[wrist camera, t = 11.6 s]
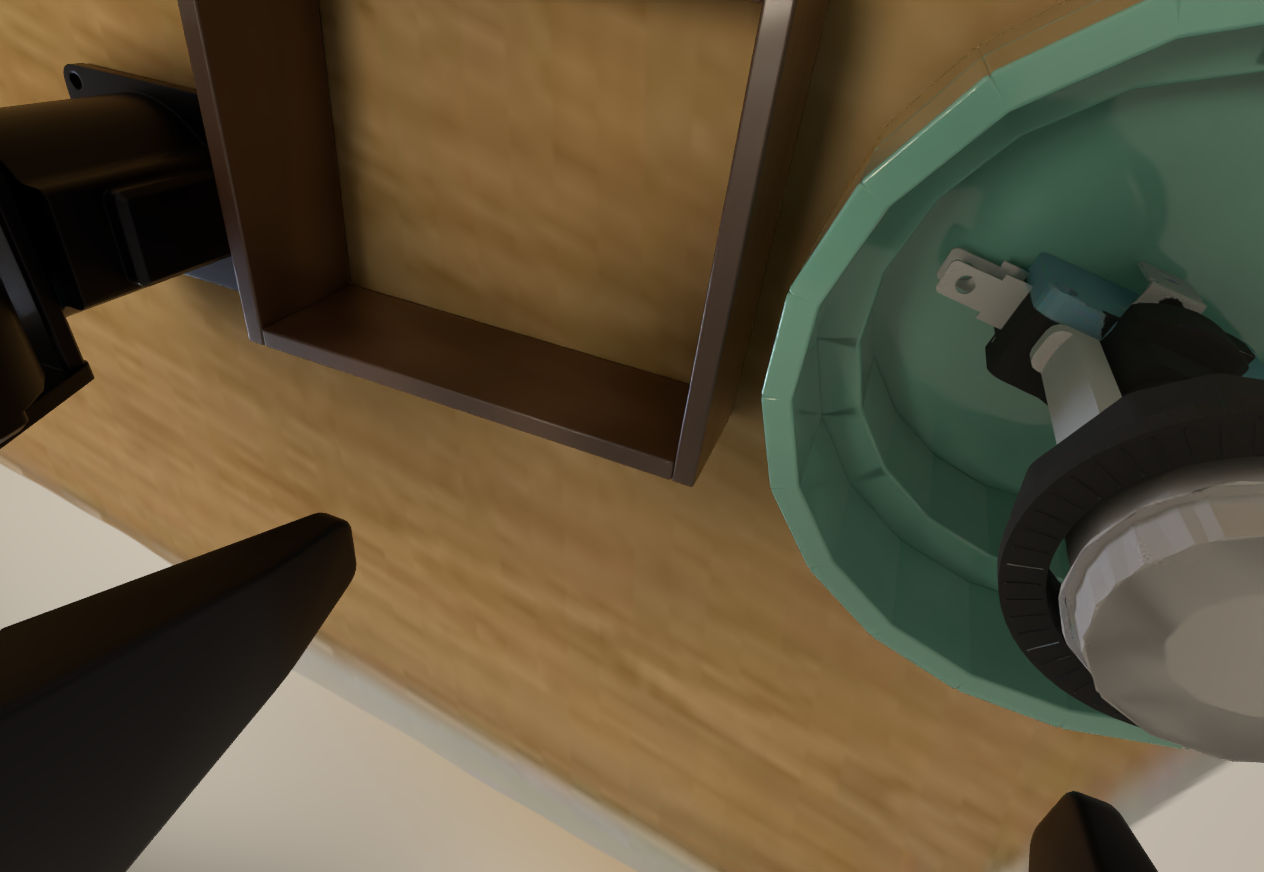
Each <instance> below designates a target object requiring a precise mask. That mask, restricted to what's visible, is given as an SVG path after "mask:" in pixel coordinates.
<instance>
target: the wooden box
mask: <svg viewBox="0 0 1264 872" xmlns="http://www.w3.org/2000/svg"><path fill="white" fill-rule="evenodd" d="M177 1H178V6H179V10H180V15H181V20H182V24H183V29H184V34H185V39H186V43H187V48H188V53H189V58H190V62H191V67H192V72H193V76H194V81H195V86H196V91H197V95H198V100H199V105H200V110H201V114H202V119H203V124H204V128H205V133H206V138H207V143H208V147H209V152H210V157H211V161H212V166H213V171H214V176H215V180H216V185H217V190H218V195H219V199H220V204H221V209H222V213H223V218H224V223H225V228H226V232H227V237H228V242H229V247H230V251H231V256H232V261H233V265H234V270H235V275H236V280H237V284H238V289H239V294H240V299H241V303H242V308H243V313H244V317H245V322H246V327H247V332H248V336H249V340H250V341H252V342H255V343H258V344H261V345H266V346H267V347H270V348H273V349H276V350H279V351H282V352H285V353H288V354H291V355H294V356H297V357H300V358H303V359H306V360H309V361H312V362H315V363H318V364H321V365H324V366H328V367H331V368H334V369H337V370H340V371H343V372H346V373H349V374H352V375H355V376H358V377H361V378H364V379H367V380H370V381H373V382H376V383H379V384H382V385H385V386H388V387H391V388H394V389H397V390H400V391H403V392H406V393H409V394H412V395H415V396H418V397H421V398H424V399H427V400H430V401H433V402H436V403H439V404H442V405H445V406H448V407H451V408H454V409H457V410H460V411H463V412H466V413H469V414H472V415H475V416H478V417H481V418H484V419H487V420H490V421H494V422H497V423H500V424H503V425H506V426H509V427H512V428H515V429H518V430H521V431H524V432H527V433H530V434H533V435H536V436H539V437H542V438H545V439H548V440H551V441H554V442H557V443H560V444H563V445H566V446H569V447H572V448H575V449H578V450H581V451H584V452H587V453H590V454H593V455H596V456H599V457H602V458H605V459H608V460H611V461H614V462H617V463H620V464H623V465H626V466H629V467H632V468H635V469H638V470H641V471H644V472H647V473H650V474H653V475H656V476H660V477H663V478H666V479H671V478H672V480H673V481H675V482H678V483H681V484H684V485H687V486H690V487H692V486H694V484H695V482H696V480H697V478H698V476H699V475H700V473H701V471H702V469H703V467H704V465H705V463H706V461H707V459H708V457H709V456H710V454H711V452H712V450H713V448H714V446H715V444H716V442H717V440H718V438H719V437H720V435H721V433H722V431H723V429H724V427H725V425H726V423H727V421H728V419H729V418H730V416H731V414H732V410H733V405H734V401H735V397H736V393H737V389H738V384H739V380H740V376H741V372H742V367H743V363H744V359H745V355H746V350H747V346H748V342H749V338H750V333H751V329H752V325H753V321H754V316H755V312H756V308H757V304H758V299H759V295H760V291H761V287H762V283H763V278H764V274H765V270H766V266H767V261H768V257H769V253H770V249H771V244H772V240H773V236H774V232H775V227H776V223H777V219H778V215H779V210H780V206H781V202H782V198H783V193H784V189H785V185H786V181H787V177H788V172H789V168H790V164H791V160H792V155H793V151H794V147H795V143H796V138H797V134H798V130H799V126H800V121H801V117H802V113H803V109H804V104H805V100H806V96H807V92H808V87H809V83H810V79H811V75H812V71H813V66H814V62H815V58H816V54H817V49H818V45H819V41H820V37H821V32H822V28H823V24H824V20H825V15H826V11H827V7H828V3H829V0H744V1H751V2H757V3H761V2H763V3H762V8H761V13H760V18H759V24H758V29H757V34H756V39H755V45H754V50H753V55H752V60H751V66H750V71H749V76H748V81H747V87H746V92H745V97H744V102H743V108H742V113H741V118H740V123H739V129H738V134H737V139H736V144H735V150H734V155H733V160H732V165H731V171H730V176H729V181H728V186H727V192H726V197H725V202H724V207H723V213H722V218H721V223H720V228H719V234H718V239H717V244H716V249H715V255H714V260H713V265H712V270H711V276H710V281H709V286H708V291H707V297H706V302H705V307H704V312H703V318H702V323H701V328H700V333H699V339H698V344H697V349H696V354H695V360H694V365H693V370H692V375H691V381H690V385H688V384H684V383H681V382H678V381H674V380H671V379H668V378H664V377H661V376H657V375H654V374H651V373H647V372H644V371H641V370H637V369H634V368H630V367H627V366H624V365H620V364H617V363H613V362H610V361H607V360H603V359H600V358H597V357H593V356H590V355H586V354H583V353H580V352H576V351H573V350H570V349H566V348H563V347H559V346H556V345H553V344H549V343H546V342H543V341H539V340H536V339H532V338H529V337H526V336H522V335H519V334H515V333H512V332H509V331H505V330H502V329H499V328H495V327H492V326H488V325H485V324H482V323H478V322H475V321H472V320H468V319H465V318H461V317H458V316H455V315H451V314H448V313H444V312H441V311H438V310H434V309H431V308H428V307H424V306H421V305H417V304H414V303H411V302H407V301H404V300H401V299H397V298H394V297H390V296H387V295H384V294H380V293H377V292H373V291H370V290H367V289H363V288H360V287H357V286H353V285H351V283H350V274H349V266H348V257H347V248H346V240H345V231H344V222H343V214H342V205H341V196H340V187H339V179H338V170H337V161H336V153H335V144H334V135H333V127H332V118H331V109H330V101H329V92H328V83H327V75H326V66H325V57H324V48H323V40H322V31H321V22H320V14H319V5H318V0H177Z"/></svg>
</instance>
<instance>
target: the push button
mask: <svg viewBox="0 0 1264 872" xmlns="http://www.w3.org/2000/svg"><path fill="white" fill-rule="evenodd" d="M965 262H967V263H971V264H972V265H973V266H971V265H969V264H967V263H965ZM1137 265H1138V267H1139V268H1140V270H1141V272H1142V273H1143V275H1144V276H1145V278H1146V279H1147V280H1148V281H1150V283H1149V285H1148V287H1147V288H1146V289H1145V291H1144V292H1143V293H1142V294H1141V295H1139V294H1137V293H1134V292H1132V291H1130V290H1128V289H1126V288H1123V287H1121V286H1119V285H1117V284H1114V283H1112V282H1110V281H1108V280H1106V279H1103V278H1101V277H1099V276H1097V275H1095V274H1092V273H1090V272H1088V271H1086V270H1083V269H1081V268H1079V267H1077V266H1075V265H1072V264H1070V263H1068V262H1066V261H1063V260H1061V259H1059V258H1057V257H1055V256H1052V255H1050V254H1047V253H1043V252H1041V253H1040V254H1039V255H1038V257H1037V258H1036V260H1035V261H1034V262H1033V264H1032V265H1031V266H1030V268H1029V269H1028V271H1027V270H1025V269H1022V268H1020V267H1018V266H1016V265H1014V264H1011V263H1009V262H1007V261H1005V260H1004V261H1003V263H1002V264H1001V266H998V265H996V264H994V263H992V262H990V261H987V260H985V259H983V258H981V257H979V256H977V255H974V254H972V253H970V252H968V251H966V250H963V249H961V248H959V247H956V248H953V249H952V250H951V251H950V253H949V254H948V256H947V258H946V259H945V261H944V262H943V264H942V265H941V267H940V268H939V270H938V272H937V277H938V279H940V280H939V282H938V283H937V285H936V290H937V292H938V293H940V294H942V295H944V296H946V297H949V298H951V299H953V300H955V301H957V302H959V303H961V304H964V305H966V306H968V307H970V308H972V309H974V310H976V311H979V313H978V314H977V316H976V318H977V319H979V320H981V321H983V322H986V323H988V324H990V325H992V326H994V331H995V334H994V335H993V337H992V338H991V340H990V341H989V342H988V344H987V345H986V346H985V353H986V366H987V370H988V371H989V372H990V373H991V374H992V375H993V376H995V377H996V378H998V379H999V380H1001V381H1003V382H1005V383H1007V384H1010V385H1012V386H1014V387H1016V388H1018V389H1020V390H1022V391H1024V392H1026V393H1028V394H1031V395H1033V396H1035V397H1037V398H1039V399H1040V400H1041V401H1043V402H1044V403H1045V404H1046V405H1047V406H1048V407H1049V412H1050V416H1051V421H1052V425H1053V430H1054V434H1055V439H1056V443H1057V445H1056V446H1054V447H1053V448H1051V449H1050V450H1049V451H1047V452H1046V453H1045V454H1043V455H1042V456H1040V457H1039V458H1038V459H1036V460H1035V461H1034V462H1033V463H1032V464H1031V465H1030V466H1029V468H1028V469H1027V472H1026V475H1025V477H1024V480H1023V482H1022V485H1021V488H1020V490H1019V493H1018V495H1017V498H1016V500H1015V503H1014V506H1013V508H1012V511H1011V514H1010V519H1009V521H1008V524H1007V526H1006V528H1005V530H1004V533H1003V536H1002V540H1001V543H1000V547H999V553H998V560H997V579H998V593H999V599H1000V606H1001V610H1002V613H1003V616H1004V619H1005V622H1006V625H1007V627H1008V629H1009V631H1010V633H1011V635H1012V637H1013V639H1014V640H1015V642H1016V643H1017V645H1018V646H1019V648H1020V650H1021V651H1022V652H1023V653H1024V655H1025V656H1026V657H1027V658H1028V659H1029V661H1030V662H1031V663H1032V664H1033V665H1034V666H1035V667H1036V668H1037V669H1038V670H1039V671H1040V672H1041V673H1042V674H1043V675H1044V676H1045V677H1046V678H1048V679H1049V680H1050V681H1051V682H1053V683H1054V684H1055V685H1056V686H1058V687H1059V688H1060V689H1062V690H1063V691H1065V692H1066V693H1068V694H1069V695H1071V696H1072V697H1074V698H1075V699H1077V700H1079V701H1080V702H1082V703H1084V704H1086V705H1088V706H1089V707H1091V708H1093V709H1095V710H1097V711H1099V712H1102V713H1104V714H1106V715H1108V716H1110V717H1113V718H1115V719H1118V720H1120V721H1123V722H1126V723H1128V724H1131V725H1134V726H1137V727H1140V728H1141V729H1143V730H1144V731H1145V732H1147V733H1148V734H1149V735H1152V736H1155V737H1158V738H1161V739H1163V740H1166V741H1169V742H1172V743H1175V744H1178V745H1181V746H1184V747H1186V748H1189V749H1192V750H1195V751H1198V752H1201V753H1204V754H1207V755H1209V756H1212V757H1215V758H1218V759H1226V760H1230V761H1237V762H1262V763H1264V365H1263V364H1262V363H1261V361H1260V360H1259V359H1258V358H1257V356H1256V354H1257V353H1256V352H1255V351H1254V350H1253V349H1252V347H1250V346H1249V345H1248V344H1247V343H1246V342H1244V341H1242V340H1241V339H1239V338H1237V337H1235V336H1233V335H1232V334H1229V333H1227V332H1225V331H1223V329H1222V328H1221V327H1219V326H1218V325H1217V324H1216V323H1214V322H1213V321H1212V320H1211V319H1209V318H1207V317H1205V316H1203V315H1202V314H1201V313H1202V312H1203V311H1204V310H1205V309H1206V307H1207V305H1206V304H1205V303H1203V302H1201V301H1202V299H1201V297H1200V296H1199V295H1198V293H1197V292H1196V291H1195V290H1194V288H1193V287H1192V286H1191V285H1190V284H1189V283H1188V282H1186V281H1185V280H1183V279H1181V278H1180V277H1177V276H1175V275H1173V274H1171V273H1168V272H1166V271H1164V270H1162V269H1159V268H1157V267H1155V266H1153V265H1150V264H1148V263H1146V262H1140V261H1139V263H1138V264H1137ZM966 275H967V276H971V277H970V278H968V279H960V277H962V276H966ZM1164 278H1165V279H1164ZM1166 279H1167V280H1166ZM1168 280H1169V281H1168ZM1170 281H1171V282H1170ZM956 287H957V288H959V289H961V290H963V291H965V292H967V293H962V292H959V291H958V290H956ZM1064 537H1065V543H1066V548H1067V554H1068V559H1069V565H1070V571H1069V572H1068V574H1067V576H1066V577H1065V579H1064V581H1063V583H1062V584H1061V583H1060V582H1059V581H1058V579H1057V578H1056V577H1055V575H1054V574H1053V573H1052V571H1051V570H1050V568H1049V567H1050V564H1051V561H1052V558H1053V556H1054V554H1055V552H1056V550H1057V548H1058V546H1059V545H1060V543H1061V541H1062V540H1063V539H1064Z"/></svg>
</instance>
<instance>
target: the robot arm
mask: <svg viewBox="0 0 1264 872" xmlns="http://www.w3.org/2000/svg"><path fill="white" fill-rule="evenodd" d="M63 73H64V78H65V81H66V85H67V88H68V91H69V95H70V98H71V99H66V100H58V101H50V102H42V103H34V104H26V105H18V106H10V107H2V108H0V449H1V448H2V447H4V446H5V445H6V444H8V443H9V442H10V441H12V440H13V439H14V438H16V437H17V436H18V435H20V434H21V433H22V432H24V431H25V430H26V429H28V428H29V427H30V426H32V425H33V424H34V423H36V422H37V421H38V420H40V419H41V418H42V417H44V416H45V415H46V414H48V413H49V412H50V411H52V410H53V409H54V408H56V407H57V406H58V405H60V404H61V403H62V402H64V401H65V400H66V399H68V398H69V397H70V396H72V395H73V394H74V393H76V392H77V391H78V390H80V389H81V388H83V387H84V386H85V385H87V384H88V383H89V382H91V381H92V380H93V379H94V375H93V373H92V370H91V368H90V366H89V363H88V362H87V361H85V360H83V358H82V355H81V353H80V350H79V348H78V346H77V343H76V341H75V338H74V336H73V334H72V331H71V329H70V326H69V324H68V322H67V319H66V317H67V316H70V315H73V314H76V313H78V312H81V311H84V310H86V309H89V308H92V307H94V306H97V305H100V304H103V303H105V302H108V301H111V300H113V299H116V298H119V297H121V296H124V295H127V294H130V293H132V292H135V291H138V290H140V289H143V288H146V287H148V286H152V285H155V284H157V283H160V282H163V281H165V280H168V279H171V278H174V277H176V276H179V275H182V274H185V275H189V276H192V277H195V278H198V279H201V280H205V281H208V282H211V283H214V284H217V285H221V286H224V287H227V288H230V289H233V290H237V291H239V289H238V284H237V280H236V275H235V270H234V265H233V261H232V256H231V251H230V247H229V242H228V237H227V232H226V228H225V223H224V218H223V213H222V209H221V204H220V199H219V195H218V190H217V185H216V180H215V176H214V171H213V166H212V161H211V157H210V152H209V147H208V143H207V138H206V133H205V128H204V124H203V119H202V114H201V110H200V105H199V100H198V95H197V91H196V89H192V88H188V87H184V86H179V85H175V84H171V83H166V82H162V81H158V80H153V79H149V78H145V77H141V76H136V75H132V74H128V73H123V72H119V71H115V70H110V69H106V68H102V67H98V66H93V65H89V64H85V63H77V64H67V65H66V66H65V67H64V72H63ZM355 571H356V557H355V550H354V543H353V537H352V530H351V526H350V525H349V523H348V522H347V521H345V520H343V519H340V518H338V517H335V516H332V515H330V514H327V513H315V514H312V515H309V516H307V517H304V518H301V519H298V520H296V521H293V522H290V523H288V524H285V525H282V526H279V527H277V528H274V529H271V530H269V531H266V532H263V533H260V534H258V535H255V536H252V537H250V538H247V539H244V540H241V541H239V542H236V543H233V544H231V545H228V546H225V547H222V548H220V549H217V550H214V551H212V552H209V553H206V554H203V555H201V556H198V557H195V558H193V559H190V560H187V561H184V562H182V563H179V564H176V565H173V566H171V567H168V568H166V569H163V570H160V571H157V572H155V573H152V574H149V575H146V576H144V577H141V578H138V579H135V580H133V581H130V582H127V583H125V584H122V585H119V586H116V587H114V588H111V589H108V590H106V591H103V592H100V593H97V594H95V595H92V596H90V597H87V598H84V599H81V600H79V601H76V602H73V603H70V604H68V605H65V606H62V607H59V608H57V609H54V610H51V611H49V612H46V613H43V614H40V615H38V616H35V617H32V618H30V619H27V620H24V621H22V622H19V623H16V624H13V625H11V626H8V627H5V628H3V629H1V630H0V872H126V871H127V870H128V869H129V867H130V866H131V865H132V864H133V863H134V861H135V860H136V859H137V858H138V856H139V855H140V854H141V853H142V851H143V850H144V849H145V848H146V847H147V846H148V844H149V843H150V842H151V840H153V838H154V837H155V836H156V835H157V833H158V832H159V831H160V830H161V829H162V827H163V826H164V825H165V824H166V823H167V821H168V820H169V819H170V818H171V816H172V815H173V814H174V813H175V812H176V810H177V809H178V808H179V807H180V805H181V804H182V803H183V802H184V801H185V800H186V798H187V797H188V796H189V794H191V792H192V791H193V790H194V788H195V787H196V786H197V785H198V784H199V783H200V781H201V780H202V779H203V778H204V777H205V775H206V774H207V773H208V772H209V771H210V769H211V768H212V767H213V766H214V764H215V763H216V762H217V761H218V760H219V758H220V757H221V756H222V755H223V753H224V752H225V751H226V750H227V749H228V748H229V746H230V745H231V744H232V743H233V741H234V740H235V739H236V738H237V737H238V735H239V734H240V733H241V732H242V731H243V729H244V728H245V727H246V726H247V724H248V723H249V722H250V721H251V720H252V718H253V717H254V716H255V715H256V714H257V712H258V711H259V710H260V709H261V708H262V706H263V705H264V704H265V703H266V702H267V700H268V699H269V698H270V697H271V695H272V694H273V693H274V692H275V691H276V689H277V688H278V687H279V686H280V684H281V683H282V682H283V680H284V679H285V678H286V677H287V675H288V674H289V673H290V671H291V670H292V668H293V667H294V666H295V664H296V663H297V661H298V660H299V659H300V657H301V656H302V654H303V653H304V651H305V650H306V648H307V647H308V645H309V644H310V642H311V641H312V639H313V638H314V636H315V635H316V633H317V632H318V630H319V629H320V627H321V626H322V624H323V623H324V621H325V620H326V618H327V617H328V615H329V614H330V612H331V611H332V609H333V608H334V606H335V605H336V604H337V602H338V601H339V599H340V598H341V596H342V595H343V593H344V592H345V590H346V589H347V587H348V586H349V584H350V583H351V581H352V579H353V577H354V574H355ZM1029 872H1158V871H1157V869H1156V868H1155V866H1154V865H1153V863H1152V862H1151V860H1150V859H1149V857H1148V855H1147V854H1146V852H1145V851H1144V849H1143V848H1142V846H1141V845H1140V843H1139V842H1138V840H1137V839H1136V837H1135V836H1134V834H1133V833H1132V831H1131V829H1130V828H1129V826H1128V825H1127V823H1126V822H1125V820H1124V819H1123V817H1122V816H1121V814H1120V813H1119V812H1118V811H1117V810H1116V809H1115V808H1114V807H1113V806H1112V805H1110V804H1108V803H1106V802H1104V801H1101V800H1098V799H1096V798H1093V797H1090V796H1088V795H1085V794H1082V793H1079V792H1075V791H1072V792H1068V793H1066V794H1065V795H1064V796H1063V797H1062V798H1061V799H1060V800H1059V801H1058V802H1057V804H1056V805H1055V806H1054V807H1053V808H1052V809H1051V811H1050V812H1049V813H1048V814H1047V815H1046V816H1045V817H1044V819H1043V820H1042V821H1041V822H1040V823H1039V824H1038V826H1037V827H1036V829H1035V831H1034V833H1033V836H1032V839H1031V844H1030V854H1029Z"/></svg>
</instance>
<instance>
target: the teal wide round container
mask: <svg viewBox="0 0 1264 872" xmlns="http://www.w3.org/2000/svg"><path fill="white" fill-rule="evenodd" d="M956 247H959V248H961V249H963V250H966V251H968V252H970V253H972V254H974V255H977V256H979V257H981V258H983V259H985V260H987V261H990V262H992V263H994V264H996V265H998V266H1001V264H1002V263H1003V261H1004V260H1005V261H1007V262H1009V263H1011V264H1014V265H1016V266H1018V267H1020V268H1022V269H1025V270H1027V271H1028V269H1029V268H1030V266H1031V265H1032V264H1033V262H1034V261H1035V260H1036V258H1037V257H1038V255H1039V254H1040V253H1041V252H1043V253H1047V254H1050V255H1052V256H1055V257H1057V258H1059V259H1061V260H1063V261H1066V262H1068V263H1070V264H1072V265H1075V266H1077V267H1079V268H1081V269H1083V270H1086V271H1088V272H1090V273H1092V274H1095V275H1097V276H1099V277H1101V278H1103V279H1106V280H1108V281H1110V282H1112V283H1114V284H1117V285H1119V286H1121V287H1123V288H1126V289H1128V290H1130V291H1132V292H1134V293H1137V294H1139V295H1141V294H1142V293H1143V292H1144V291H1145V289H1146V288H1147V287H1148V285H1149V283H1150V281H1148V280H1147V279H1146V278H1145V276H1144V275H1143V273H1142V272H1141V270H1140V268H1139V267H1138V265H1137V264H1138V263H1139V261H1140V262H1146V263H1148V264H1150V265H1153V266H1155V267H1157V268H1159V269H1162V270H1164V271H1166V272H1168V273H1171V274H1173V275H1175V276H1177V277H1180V278H1181V279H1183V280H1185V281H1186V282H1188V283H1189V284H1190V285H1191V286H1192V287H1193V288H1194V290H1195V291H1196V292H1197V293H1198V295H1199V296H1200V297H1201V299H1202V301H1201V302H1203V303H1205V304H1206V305H1207V307H1206V309H1205V310H1204V311H1203V312H1202V313H1201V314H1202V315H1203V316H1205V317H1207V318H1209V319H1211V320H1212V321H1213V322H1214V323H1216V324H1217V325H1218V326H1219V327H1221V328H1222V329H1223V331H1225V332H1227V333H1229V334H1232V335H1233V336H1235V337H1237V338H1239V339H1241V340H1242V341H1244V342H1246V343H1247V344H1248V345H1249V346H1250V347H1252V349H1253V350H1254V351H1255V352H1256V353H1257V354H1256V356H1257V358H1258V359H1259V360H1260V361H1261V363H1262V364H1263V365H1264V0H1069V1H1066V2H1064V3H1062V4H1060V5H1058V6H1056V7H1054V8H1052V9H1050V10H1048V11H1046V12H1044V13H1042V14H1040V15H1038V16H1036V17H1034V18H1032V19H1030V20H1028V21H1026V22H1024V23H1022V24H1020V25H1018V26H1016V27H1014V28H1012V29H1010V30H1008V31H1005V32H1003V33H1001V34H999V35H997V36H995V37H993V38H991V39H989V40H987V41H985V42H983V43H981V44H980V45H979V48H978V47H976V48H974V49H973V50H972V51H971V52H969V53H968V54H967V55H966V56H965V57H964V58H963V59H961V60H960V61H959V62H958V63H957V64H956V65H955V66H953V67H952V68H951V69H950V70H949V71H948V72H947V73H945V74H944V75H943V76H942V77H941V78H940V79H939V80H937V81H936V82H935V83H934V84H933V85H932V86H931V87H929V88H928V89H927V90H926V91H925V92H924V93H923V94H921V95H920V96H919V97H918V98H917V99H916V100H915V101H913V102H912V103H911V104H910V105H909V106H908V107H907V108H905V109H904V110H903V111H902V112H901V113H900V114H899V115H897V116H896V117H895V118H894V119H893V120H892V121H891V123H890V124H888V125H887V126H886V128H885V129H884V131H883V133H882V134H881V136H880V137H879V139H878V140H877V142H876V143H875V145H874V146H873V148H872V150H871V151H870V153H869V154H868V156H867V157H866V159H865V160H864V162H863V163H862V165H861V166H860V168H859V170H858V171H857V173H856V174H855V176H854V177H853V179H852V180H851V182H850V183H849V185H848V187H847V188H846V190H845V191H844V193H843V194H842V196H841V197H840V199H839V200H838V202H837V203H836V205H835V207H834V209H833V210H832V212H831V214H830V216H829V218H828V219H827V221H826V223H825V225H824V227H823V228H822V230H821V232H820V234H819V236H818V237H817V239H816V241H815V243H814V245H813V247H812V248H811V250H810V252H809V254H808V256H807V257H806V259H805V261H804V263H803V265H802V267H801V268H800V270H799V272H798V274H797V276H796V277H795V279H794V281H793V283H792V285H791V286H790V289H789V292H788V293H787V295H786V299H785V303H784V307H783V310H782V314H781V318H780V322H779V326H778V330H777V334H776V337H775V341H774V345H773V349H772V353H771V357H770V361H769V364H768V368H767V372H766V376H765V380H764V384H763V388H762V391H761V392H762V397H761V404H762V414H763V424H764V434H765V443H766V453H767V463H768V473H769V483H770V487H771V491H772V493H773V495H774V497H775V499H776V502H777V504H778V506H779V508H780V510H781V512H782V514H783V516H784V518H785V520H786V522H787V525H788V527H789V529H790V531H791V533H792V535H793V537H794V539H795V541H796V543H797V545H798V548H799V550H800V552H801V554H802V556H803V558H804V560H805V562H806V564H807V566H808V567H809V568H810V570H811V572H812V573H813V574H814V575H815V576H816V577H817V579H818V580H819V581H820V582H821V583H822V584H823V585H824V586H825V587H826V588H827V589H828V590H829V591H830V593H831V594H832V595H833V596H834V597H835V598H836V599H837V600H838V601H839V602H840V603H841V604H842V605H843V606H844V608H845V609H846V610H847V611H848V612H849V613H850V614H851V615H852V616H853V617H854V618H855V619H856V620H857V621H858V623H859V624H860V625H861V626H862V627H863V628H864V629H865V630H866V631H867V632H868V633H869V634H870V635H873V637H874V638H875V639H876V640H878V641H879V642H881V643H882V644H884V645H886V646H887V647H889V648H890V649H892V650H893V651H895V652H897V653H898V654H900V655H901V656H903V657H904V658H906V659H908V660H909V661H911V662H912V663H914V664H915V665H917V666H919V667H920V668H922V669H923V670H925V671H926V672H928V673H930V674H931V675H933V676H934V677H936V678H937V679H939V680H941V681H942V682H944V683H945V684H947V685H948V686H950V687H952V688H954V689H956V688H957V690H958V691H960V692H962V693H965V694H968V695H970V696H973V697H976V698H979V699H981V700H984V701H987V702H989V703H992V704H995V705H998V706H1000V707H1003V708H1006V709H1008V710H1011V711H1014V712H1017V713H1019V714H1022V715H1025V716H1027V717H1030V718H1033V719H1036V720H1038V721H1041V722H1044V723H1046V724H1049V725H1052V726H1055V727H1060V726H1061V728H1063V729H1066V730H1072V731H1078V732H1084V733H1090V734H1096V735H1102V736H1108V737H1113V738H1119V739H1125V740H1131V741H1137V742H1143V743H1149V744H1155V745H1161V746H1167V747H1173V748H1179V749H1180V748H1183V747H1184V746H1181V745H1178V744H1175V743H1172V742H1169V741H1166V740H1163V739H1161V738H1158V737H1155V736H1152V735H1149V734H1148V733H1147V732H1145V731H1144V730H1143V729H1141V728H1140V727H1137V726H1134V725H1131V724H1128V723H1126V722H1123V721H1120V720H1118V719H1115V718H1113V717H1110V716H1108V715H1106V714H1104V713H1102V712H1099V711H1097V710H1095V709H1093V708H1091V707H1089V706H1088V705H1086V704H1084V703H1082V702H1080V701H1079V700H1077V699H1075V698H1074V697H1072V696H1071V695H1069V694H1068V693H1066V692H1065V691H1063V690H1062V689H1060V688H1059V687H1058V686H1056V685H1055V684H1054V683H1053V682H1051V681H1050V680H1049V679H1048V678H1046V677H1045V676H1044V675H1043V674H1042V673H1041V672H1040V671H1039V670H1038V669H1037V668H1036V667H1035V666H1034V665H1033V664H1032V663H1031V662H1030V661H1029V659H1028V658H1027V657H1026V656H1025V655H1024V653H1023V652H1022V651H1021V650H1020V648H1019V646H1018V645H1017V643H1016V642H1015V640H1014V639H1013V637H1012V635H1011V633H1010V631H1009V629H1008V627H1007V625H1006V622H1005V619H1004V616H1003V613H1002V610H1001V606H1000V599H999V593H998V579H997V560H998V553H999V547H1000V543H1001V540H1002V536H1003V533H1004V530H1005V528H1006V526H1007V524H1008V521H1009V519H1010V514H1011V511H1012V508H1013V506H1014V503H1015V500H1016V498H1017V495H1018V493H1019V490H1020V488H1021V485H1022V482H1023V480H1024V477H1025V475H1026V472H1027V469H1028V468H1029V466H1030V465H1031V464H1032V463H1033V462H1034V461H1035V460H1036V459H1038V458H1039V457H1040V456H1042V455H1043V454H1045V453H1046V452H1047V451H1049V450H1050V449H1051V448H1053V447H1054V446H1056V445H1057V443H1056V439H1055V434H1054V430H1053V425H1052V421H1051V416H1050V412H1049V407H1048V406H1047V405H1046V404H1045V403H1044V402H1043V401H1041V400H1040V399H1039V398H1037V397H1035V396H1033V395H1031V394H1028V393H1026V392H1024V391H1022V390H1020V389H1018V388H1016V387H1014V386H1012V385H1010V384H1007V383H1005V382H1003V381H1001V380H999V379H998V378H996V377H995V376H993V375H992V374H991V373H990V372H989V371H988V370H987V366H986V353H985V346H986V345H987V344H988V342H989V341H990V340H991V338H992V337H993V335H994V334H995V331H994V326H992V325H990V324H988V323H986V322H983V321H981V320H979V319H977V318H976V316H977V314H978V313H979V311H976V310H974V309H972V308H970V307H968V306H966V305H964V304H961V303H959V302H957V301H955V300H953V299H951V298H949V297H946V296H944V295H942V294H940V293H938V292H937V290H936V285H937V283H938V282H939V280H940V279H938V277H937V272H938V270H939V268H940V267H941V265H942V264H943V262H944V261H945V259H946V258H947V256H948V254H949V253H950V251H951V250H952V249H953V248H956ZM965 263H967V262H965ZM967 264H969V265H971V266H973V265H972V264H971V263H967ZM970 277H971V276H967V275H966V276H962V277H960V279H968V278H970ZM1164 279H1165V278H1164ZM1166 280H1167V279H1166ZM1168 281H1169V280H1168ZM1170 282H1171V281H1170ZM956 290H958V291H959V292H962V293H967V292H965V291H963V290H961V289H959V288H957V287H956ZM1049 568H1050V570H1051V571H1052V573H1053V574H1054V575H1055V577H1056V578H1057V579H1058V581H1059V582H1060V583H1061V584H1062V583H1063V581H1064V579H1065V577H1066V576H1067V574H1068V572H1069V571H1070V565H1069V559H1068V554H1067V548H1066V543H1065V537H1064V539H1063V540H1062V541H1061V543H1060V545H1059V546H1058V548H1057V550H1056V552H1055V554H1054V556H1053V558H1052V561H1051V564H1050V567H1049ZM1185 748H1186V747H1185ZM1186 749H1189V748H1186Z"/></svg>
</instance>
